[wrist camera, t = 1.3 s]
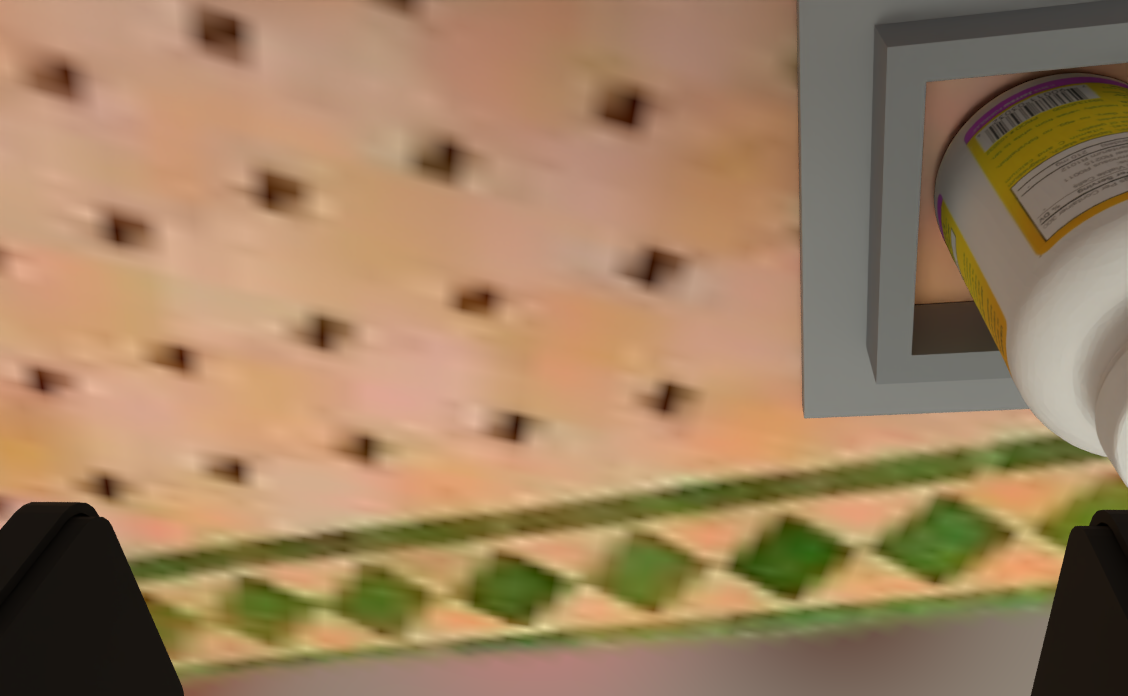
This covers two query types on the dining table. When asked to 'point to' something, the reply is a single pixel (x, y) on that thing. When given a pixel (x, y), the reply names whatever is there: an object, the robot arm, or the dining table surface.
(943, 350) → the gray bottle caddy
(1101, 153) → the supplement bottle
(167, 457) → the dining table surface
